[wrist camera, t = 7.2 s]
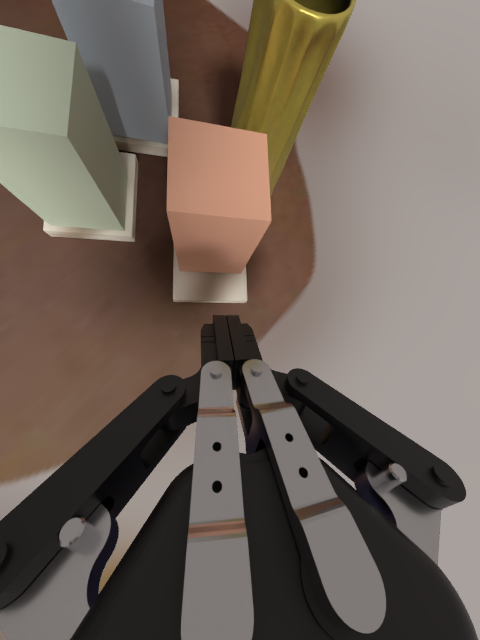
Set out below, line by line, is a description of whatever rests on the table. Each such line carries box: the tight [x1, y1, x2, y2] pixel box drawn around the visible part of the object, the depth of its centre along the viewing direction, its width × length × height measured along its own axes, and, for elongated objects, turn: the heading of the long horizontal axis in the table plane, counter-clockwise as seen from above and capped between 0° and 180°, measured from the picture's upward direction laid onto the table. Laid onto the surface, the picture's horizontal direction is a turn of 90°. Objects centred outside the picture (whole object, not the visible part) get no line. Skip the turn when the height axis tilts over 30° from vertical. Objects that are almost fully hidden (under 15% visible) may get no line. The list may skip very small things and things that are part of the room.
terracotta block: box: [167, 116, 271, 274], centre depth 17 cm, size 6×6×9 cm
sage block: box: [0, 25, 127, 231], centre depth 15 cm, size 6×6×9 cm
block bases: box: [43, 78, 247, 303], centre depth 22 cm, size 18×25×1 cm
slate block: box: [52, 0, 172, 144], centre depth 17 cm, size 6×6×9 cm
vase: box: [231, 0, 356, 199], centre depth 17 cm, size 6×6×14 cm
